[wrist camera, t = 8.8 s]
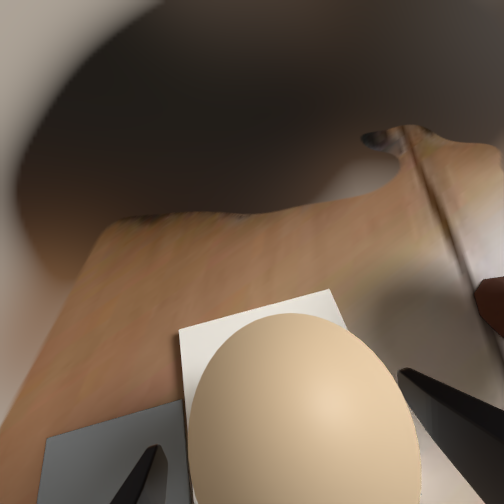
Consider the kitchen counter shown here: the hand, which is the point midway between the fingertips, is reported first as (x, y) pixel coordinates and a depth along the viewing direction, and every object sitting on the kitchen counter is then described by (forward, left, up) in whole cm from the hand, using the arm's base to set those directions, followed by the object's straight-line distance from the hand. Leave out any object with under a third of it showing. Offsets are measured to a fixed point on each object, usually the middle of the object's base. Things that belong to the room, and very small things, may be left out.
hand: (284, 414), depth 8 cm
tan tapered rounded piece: (0, 0, -7) cm, 7 cm away
